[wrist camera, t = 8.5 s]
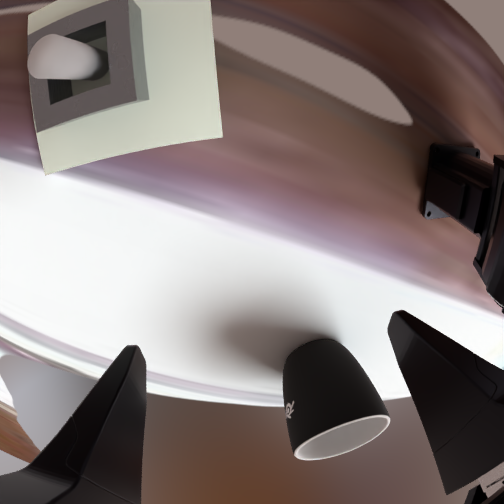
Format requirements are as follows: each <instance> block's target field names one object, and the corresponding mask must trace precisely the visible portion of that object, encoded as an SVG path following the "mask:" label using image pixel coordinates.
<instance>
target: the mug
mask: <svg viewBox="0 0 504 504" xmlns="http://www.w3.org/2000/svg"><path fill="white" fill-rule="evenodd" d="M283 397H284V406H285V413H286V420H287V426H288V432H289V437H290V442H291V446H292V450H293V453H294V455H295V457H297V458H298V459H302V460H318V459H324V458H329V457H333V456H337V455H340V454H343V453H346V452H348V451H351V450H354V449H356V448H358V447H360V446H362V445H364V444H366V443H368V442H369V441H371V440H372V439H374V438H375V437H377V436H378V435H379V434H381V433H382V432H383V431H384V430H385V429H386V428H387V426H388V425H389V423H390V417H389V414H388V411H387V409H386V407H385V405H384V403H383V401H382V399H381V398H380V396H379V394H378V392H377V390H376V389H375V387H374V385H373V384H372V382H371V380H370V379H369V377H368V376H367V374H366V373H365V371H364V370H363V368H362V367H361V365H360V364H359V363H358V361H357V360H356V359H355V357H354V356H353V355H352V354H351V353H350V352H349V350H348V349H347V348H345V347H344V346H343V345H341V344H340V343H338V342H336V341H333V340H316V341H312V342H309V343H307V344H305V345H303V346H301V347H299V348H298V349H296V350H295V351H294V352H293V353H292V354H291V355H290V356H289V357H288V359H287V361H286V363H285V366H284V370H283Z"/></svg>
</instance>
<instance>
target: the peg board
mask: <svg viewBox="0 0 504 504" xmlns="http://www.w3.org/2000/svg"><path fill="white" fill-rule="evenodd" d="M105 1H108V0H57V1H55V2H53V3H51V4H49V5H47V6H45V7H43V8H41V9H39V10H37V11H35V12H33V13H31V14H29V15H28V35H29V34H31V33H33V32H35V31H37V30H39V29H41V28H43V27H45V26H47V25H49V24H51V23H53V22H55V21H57V20H59V19H62V18H64V17H66V16H68V15H71V14H73V13H76V12H78V11H81V10H83V9H86V8H88V7H91V6H94V5H97V4H99V3H102V2H105ZM133 1H134V2H135V3H136V4H137V5H138V7H139V8H140V9H141V18H142V33H143V45H144V56H145V66H146V75H147V84H148V92H149V100H146V101H142V102H138V103H134V104H129V105H126V106H122V107H118V108H114V109H111V110H107V111H104V112H100V113H97V114H94V115H90V116H87V117H84V118H81V119H78V120H75V121H72V122H69V123H66V124H64V125H61V126H58V127H54V128H51V129H48V130H45V131H41V132H38V133H37V132H36V135H37V140H38V146H39V150H40V155H41V160H42V164H43V168H44V172H45V175H49V174H52V173H55V172H58V171H61V170H65V169H68V168H71V167H75V166H78V165H82V164H86V163H89V162H93V161H97V160H101V159H105V158H109V157H113V156H118V155H122V154H127V153H131V152H136V151H141V150H146V149H151V148H156V147H161V146H167V145H173V144H179V143H185V142H191V141H198V140H205V139H213V138H221V137H223V134H222V124H221V114H220V104H219V94H218V83H217V73H216V62H215V50H214V39H213V28H212V15H211V2H210V0H133ZM27 65H28V70H29V73H30V74H31V75H32V76H33V77H34V78H37V79H71V84H72V93H73V96H75V95H78V94H81V93H83V92H86V91H89V90H92V89H95V88H99V87H102V86H105V85H108V84H111V80H110V71H109V61H108V50H107V36H106V37H102V38H99V39H97V40H94V41H91V42H88V43H82V42H79V41H76V40H73V39H70V38H66V37H63V36H60V35H57V34H49V35H46V36H44V37H42V38H41V39H40V40H38V41H37V42H36V44H35V45H34V46H33V48H32V49H31V51H30V54H29V57H28V62H27ZM29 83H30V80H29ZM30 93H31V90H30ZM31 102H32V99H31ZM32 110H33V107H32ZM33 117H34V114H33ZM34 123H35V120H34ZM35 129H36V126H35Z"/></svg>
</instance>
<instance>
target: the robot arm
mask: <svg viewBox="0 0 504 504" xmlns="http://www.w3.org/2000/svg"><path fill="white" fill-rule="evenodd" d="M435 149H437V150H436V152H435ZM493 163H494V165H492V164H490V163H487V162H485V161H483V160H481V159H480V150H479V149H477V148H473V147H466V146H458V145H449V144H438V143H433V144H432V145H431V147H430V156H429V166H428V175H427V183H426V191H425V198H424V204H423V210H422V215H423V217H424V218H426V219H435V218H444V217H451V218H453V219H454V220H455V221H457V222H458V223H460V224H461V225H462V226H464V227H465V228H467V229H468V230H469V231H471V232H472V233H473V234H475V235H476V236H477V237H479V238H480V243H479V247H478V251H477V254H476V257H475V258H474V261H473V265H474V267H475V268H476V270H477V272H478V273H479V275H480V277H481V278H482V280H483V282H484V284H485V285H486V290H487V292H488V294H489V295H490V296H491V297H492V298H493V299H494V301H495V302H496V303H497V304H498V305H499V306H500V307H502V308H503V309H502V313H503V314H504V155H494V159H493ZM427 213H428V214H427ZM388 335H389V338H390V341H391V344H392V347H393V350H394V353H395V356H396V359H397V362H398V365H399V368H400V370H401V373H402V375H403V377H404V379H405V382H406V384H407V386H408V389H409V391H410V394H411V396H412V399H413V401H414V403H415V406H416V408H417V411H418V414H419V416H420V419H421V421H422V424H423V427H424V429H425V432H426V435H427V437H428V440H429V443H430V446H431V449H432V452H433V453H434V454H433V455H434V458H435V461H436V464H437V467H438V470H439V473H440V476H441V479H442V482H443V486H444V489H445V493H446V495H448V494H450V493H452V492H454V491H456V490H458V489H460V488H462V487H464V486H465V485H467V484H469V483H471V482H473V481H474V480H476V479H478V480H479V484H478V485H476V486H475V487H473V488H472V489H470V490H469V493H468V495H467V498H466V501H465V503H464V504H504V370H502V369H500V368H498V367H496V366H495V365H493V364H491V363H489V362H488V361H486V360H484V359H483V358H481V357H479V356H478V355H476V354H474V353H473V352H471V351H470V350H468V349H467V348H465V347H463V346H462V345H460V344H459V343H457V342H455V341H454V340H452V339H451V338H449V337H447V336H446V335H444V334H442V333H441V332H439V331H438V330H436V329H434V328H433V327H431V326H429V325H428V324H426V323H424V322H423V321H421V320H420V319H418V318H416V317H415V316H413V315H411V314H410V313H408V312H406V311H404V310H399V311H395V312H394V313H393V314H392V316H391V319H390V322H389V325H388ZM145 416H146V361H145V358H144V356H143V354H142V352H141V350H140V348H139V346H137V345H127V346H126V347H125V348H124V349H123V350H122V351H121V353H120V354H119V355H118V356H117V358H116V359H115V360H114V361H113V363H112V364H111V365H110V366H109V368H108V369H107V370H106V371H105V373H104V374H103V375H102V377H101V378H100V379H99V380H98V382H97V383H96V384H95V385H94V387H93V388H92V389H91V391H90V392H89V393H88V394H87V396H86V397H85V398H84V400H83V401H82V402H81V404H80V405H79V406H78V407H77V409H76V410H75V412H74V413H73V414H72V416H71V417H70V418H69V419H68V421H67V422H66V423H65V425H64V426H63V427H62V428H61V430H60V431H59V432H58V434H57V435H56V436H55V437H54V438H53V439H52V440H51V441H50V443H49V444H48V445H47V446H46V447H45V448H44V449H43V450H42V451H41V452H40V453H39V454H38V455H37V457H36V458H35V459H34V460H33V461H32V462H31V463H30V464H29V465H28V466H26V467H25V468H23V469H21V470H19V471H16V472H12V473H9V474H5V475H1V476H0V504H141V483H142V482H141V481H142V457H143V440H144V428H145Z"/></svg>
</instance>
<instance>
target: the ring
mask: <svg viewBox="0 0 504 504" xmlns="http://www.w3.org/2000/svg"><path fill="white" fill-rule="evenodd" d="M49 34H57V35H60V36H63V37H66V38H70V39H73V40H76V41H79V42H82V43H88V42H91V41H94V40H97V39H99V38H102V37H106V36H107V50H108V61H109V71H110V80H111V84H108V85H105V86H102V87H99V88H95V89H92V90H89V91H86V92H83V93H81V94H78V95H75V96H73V93H72V84H71V79H37V78H34V77H33V76H32V75H31V74H30V73H29V80H30V90H31V99H32V107H33V114H34V120H35V126H36V132H37V133H38V132H41V131H45V130H48V129H51V128H54V127H58V126H61V125H64V124H66V123H69V122H72V121H75V120H78V119H81V118H84V117H87V116H90V115H94V114H97V113H100V112H104V111H107V110H111V109H114V108H118V107H122V106H126V105H129V104H134V103H138V102H142V101H146V100H149V92H148V84H147V75H146V66H145V56H144V45H143V33H142V18H141V9H140V8H139V7H138V5H137V4H136V3H135V2H134V1H133V0H108V1H105V2H102V3H99V4H97V5H94V6H91V7H88V8H86V9H83V10H81V11H78V12H76V13H73V14H71V15H68V16H66V17H64V18H62V19H59V20H57V21H55V22H53V23H51V24H49V25H47V26H45V27H43V28H41V29H39V30H37V31H35V32H33V33H31V34H29V35H28V57H29V54H30V51H31V49H32V48H33V46H34V45H35V44H36V42H37V41H38V40H40V39H41V38H42V37H44V36H46V35H49Z"/></svg>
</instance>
